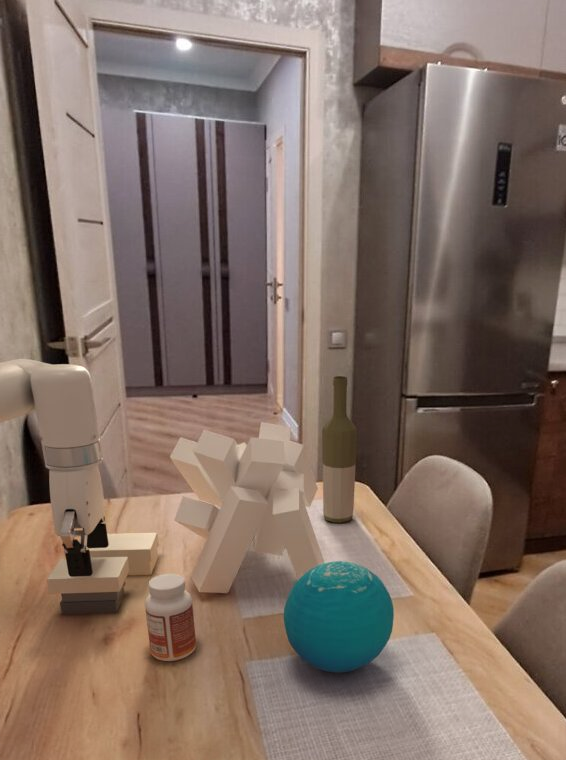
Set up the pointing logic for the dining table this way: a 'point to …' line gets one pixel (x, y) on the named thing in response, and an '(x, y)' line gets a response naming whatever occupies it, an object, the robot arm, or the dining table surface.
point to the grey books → (91, 602)
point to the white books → (131, 551)
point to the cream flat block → (90, 577)
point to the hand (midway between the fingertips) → (89, 560)
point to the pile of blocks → (247, 502)
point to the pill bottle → (170, 618)
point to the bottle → (339, 458)
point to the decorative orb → (338, 616)
